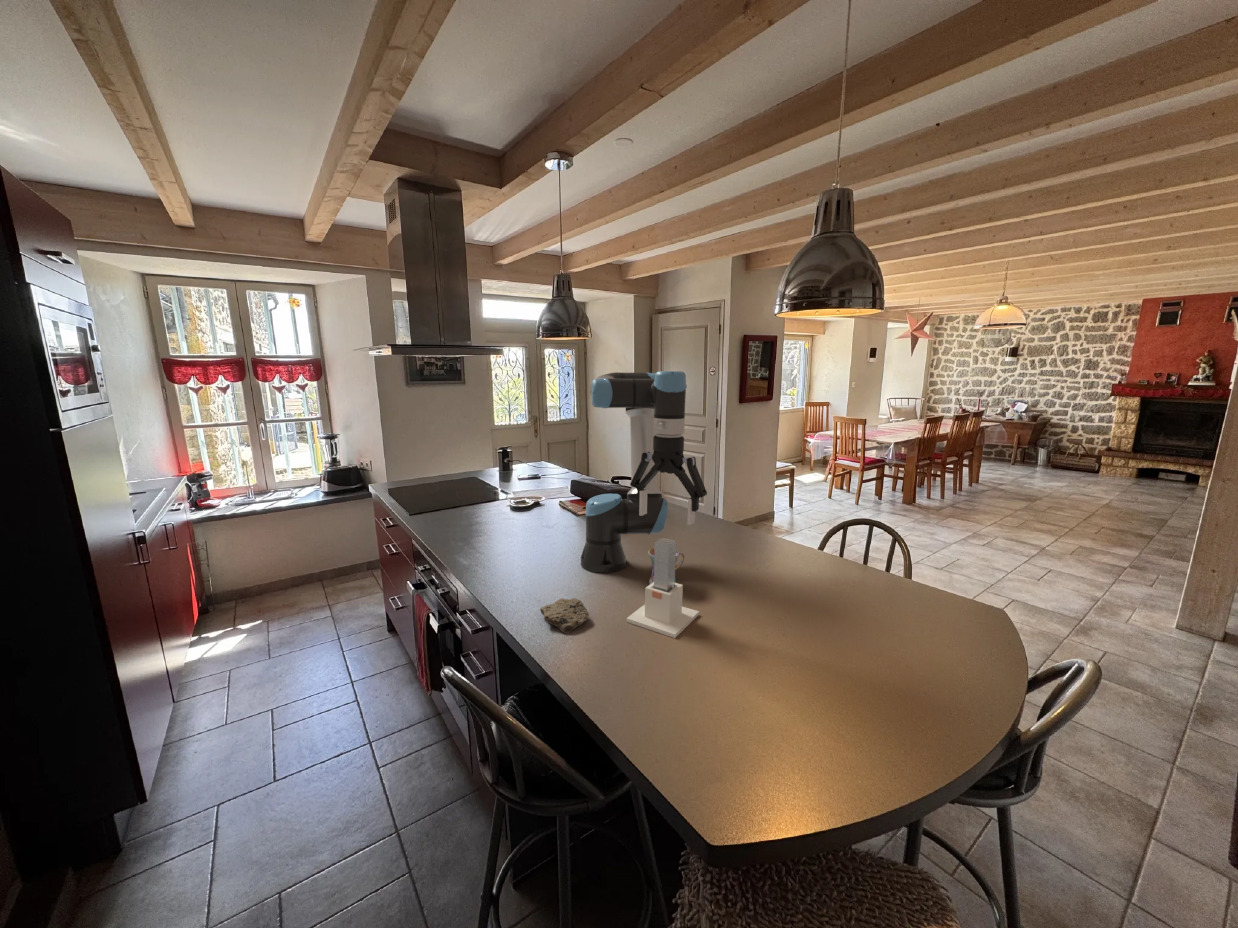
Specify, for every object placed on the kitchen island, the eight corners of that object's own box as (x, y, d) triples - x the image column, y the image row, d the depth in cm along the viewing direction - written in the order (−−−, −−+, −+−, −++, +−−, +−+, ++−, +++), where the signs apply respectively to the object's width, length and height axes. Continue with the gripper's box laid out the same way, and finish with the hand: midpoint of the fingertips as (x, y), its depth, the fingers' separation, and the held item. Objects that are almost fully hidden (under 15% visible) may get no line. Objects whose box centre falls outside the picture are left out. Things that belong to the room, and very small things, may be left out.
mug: (657, 594, 143) (658, 559, 141) (642, 582, 151) (642, 549, 149) (691, 586, 148) (693, 553, 146) (674, 575, 157) (675, 543, 154)
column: (660, 608, 132) (662, 537, 128) (674, 612, 130) (676, 540, 126) (652, 614, 128) (654, 542, 125) (666, 619, 126) (669, 545, 122)
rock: (550, 637, 120) (550, 620, 119) (538, 615, 131) (537, 600, 130) (593, 627, 125) (593, 611, 124) (577, 607, 135) (577, 592, 134)
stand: (653, 600, 139) (653, 571, 137) (698, 614, 131) (700, 583, 130) (626, 621, 127) (627, 589, 126) (674, 638, 120) (676, 603, 118)
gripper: (617, 432, 124) (616, 514, 127) (710, 441, 110) (706, 531, 114) (633, 430, 130) (632, 507, 134) (723, 437, 116) (718, 523, 120)
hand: (666, 519), depth 124 cm, fingers open, 13 cm apart
